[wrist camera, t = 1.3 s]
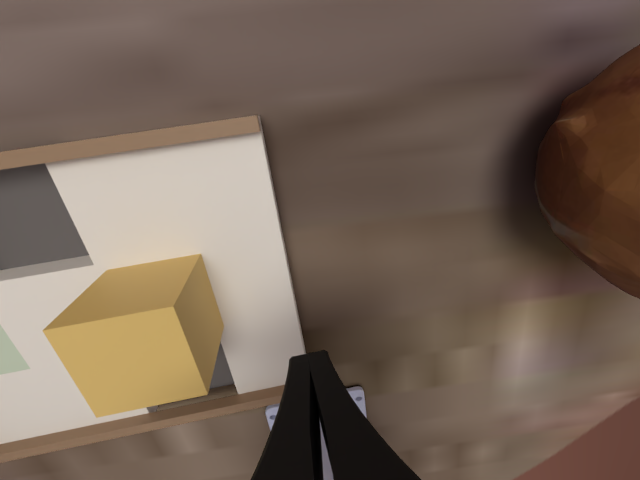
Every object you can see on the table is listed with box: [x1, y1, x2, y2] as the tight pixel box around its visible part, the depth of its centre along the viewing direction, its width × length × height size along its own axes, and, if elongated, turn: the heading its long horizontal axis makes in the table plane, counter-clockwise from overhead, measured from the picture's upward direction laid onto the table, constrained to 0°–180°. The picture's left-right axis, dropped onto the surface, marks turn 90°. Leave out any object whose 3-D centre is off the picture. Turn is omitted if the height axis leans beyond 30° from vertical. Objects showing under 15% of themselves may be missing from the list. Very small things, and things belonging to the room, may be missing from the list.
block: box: [42, 254, 224, 418], centre depth 15 cm, size 5×5×5 cm
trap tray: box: [0, 115, 306, 463], centre depth 17 cm, size 18×22×4 cm
